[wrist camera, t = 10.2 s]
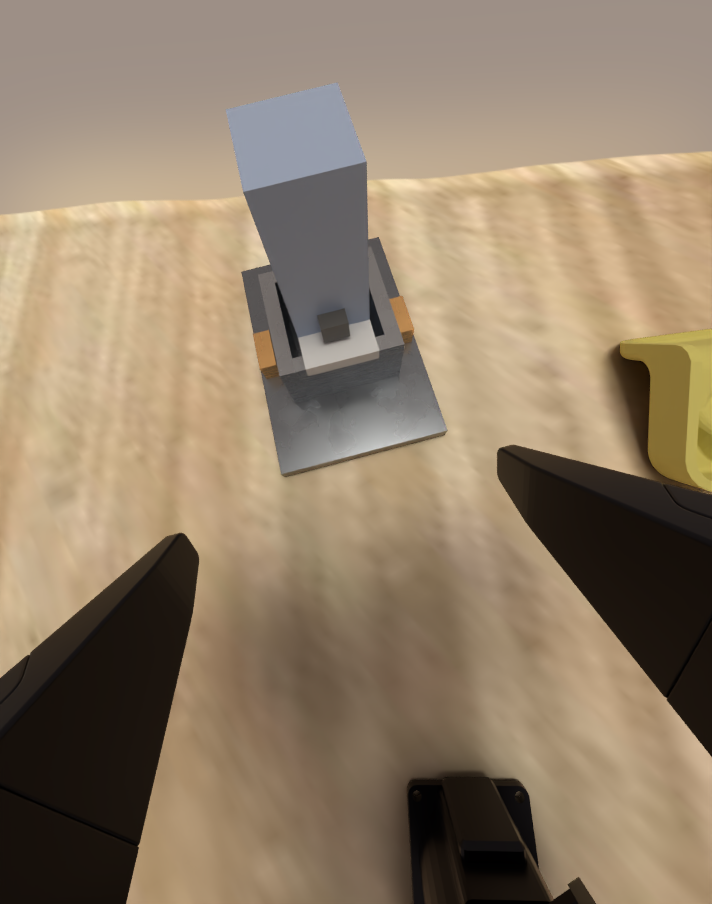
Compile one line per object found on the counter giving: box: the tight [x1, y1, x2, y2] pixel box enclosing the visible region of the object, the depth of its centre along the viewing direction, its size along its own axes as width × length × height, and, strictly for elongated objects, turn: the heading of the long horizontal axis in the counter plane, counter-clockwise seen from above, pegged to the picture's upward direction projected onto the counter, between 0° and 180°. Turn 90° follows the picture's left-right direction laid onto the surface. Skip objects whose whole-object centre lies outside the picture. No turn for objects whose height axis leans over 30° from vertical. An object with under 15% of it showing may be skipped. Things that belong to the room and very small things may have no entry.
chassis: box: [242, 237, 447, 477], centre depth 23 cm, size 18×12×5 cm, turn 14°
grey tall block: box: [226, 83, 379, 376], centre depth 18 cm, size 9×4×13 cm, turn 14°
